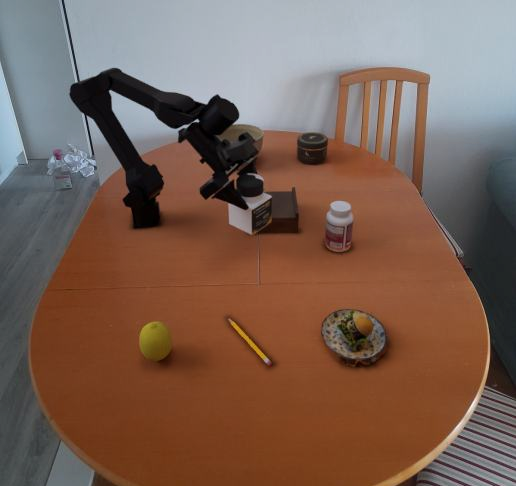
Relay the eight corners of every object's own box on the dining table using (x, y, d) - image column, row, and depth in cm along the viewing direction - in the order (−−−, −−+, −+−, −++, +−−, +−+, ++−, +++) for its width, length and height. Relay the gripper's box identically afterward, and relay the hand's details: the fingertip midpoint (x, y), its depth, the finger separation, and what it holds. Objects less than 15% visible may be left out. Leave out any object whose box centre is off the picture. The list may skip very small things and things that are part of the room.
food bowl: (334, 307, 89) (337, 278, 85) (394, 329, 83) (399, 299, 80) (309, 349, 80) (311, 319, 76) (374, 378, 74) (379, 346, 71)
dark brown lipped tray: (250, 233, 111) (249, 214, 108) (250, 205, 123) (250, 187, 120) (298, 232, 111) (298, 213, 108) (294, 205, 122) (294, 187, 120)
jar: (292, 162, 145) (293, 141, 142) (301, 150, 153) (302, 130, 150) (322, 167, 142) (323, 145, 138) (330, 154, 150) (331, 133, 146)
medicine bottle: (252, 236, 98) (251, 189, 92) (228, 224, 102) (226, 178, 96) (272, 222, 103) (273, 176, 97) (248, 211, 107) (248, 166, 101)
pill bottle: (342, 235, 110) (346, 196, 104) (355, 249, 105) (360, 209, 99) (320, 240, 108) (322, 201, 103) (332, 255, 103) (335, 215, 98)
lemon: (167, 372, 76) (161, 339, 72) (137, 367, 77) (130, 334, 73) (179, 347, 81) (174, 314, 77) (150, 342, 82) (144, 310, 78)
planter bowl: (264, 174, 138) (263, 142, 133) (212, 175, 139) (209, 143, 133) (264, 152, 152) (263, 123, 147) (217, 153, 153) (215, 123, 148)
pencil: (268, 366, 77) (268, 364, 76) (226, 320, 86) (226, 317, 86) (272, 364, 77) (272, 361, 77) (229, 318, 87) (229, 315, 86)
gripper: (208, 142, 85) (261, 204, 86) (250, 111, 100) (295, 164, 101) (177, 171, 92) (227, 228, 93) (221, 138, 106) (263, 187, 108)
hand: (255, 200), depth 99 cm, fingers closed on medicine bottle, 8 cm apart
